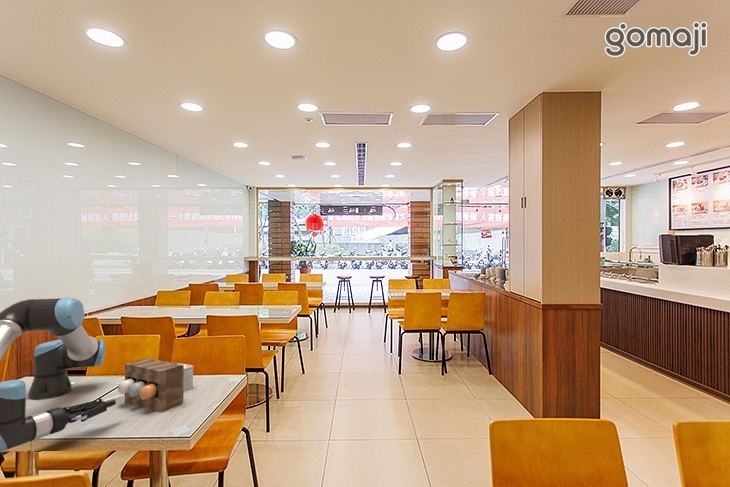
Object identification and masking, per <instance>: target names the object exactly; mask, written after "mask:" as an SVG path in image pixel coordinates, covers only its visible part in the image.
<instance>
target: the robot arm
mask: <svg viewBox="0 0 730 487" xmlns="http://www.w3.org/2000/svg"><path fill="white" fill-rule="evenodd" d="M84 319H85V309H84V305H83V303H82V301H81V300H79V299H78V298H76V297H75V298H74V297H62V298H61V297H60V298H36V299H33V298H32V299H31V298H30V299H25V300H24V299H23V300H21V301H18V302H16V303H13V304H12V305H11V304H10V306H8V307H6V308H4V309H2V311H0V362H2V360H3V358H4V356H5V355H6V353H7V351H8V350H9V349H10V347H11V345H12V344H13V341H14V340H17V339H18V338H19V337H20V336H21V335H22V333H25V332H30V331H31V332H32V331H33V332H34V331H46V332H47V333H48V334H49V335H52V336H54V337H57V338H58V339H56V340H51V341H47V342H43V343H40V344H38V345H36V347H35V348H34V355H33V358H34V359H33V380H32V382H31V385H30V388H29V390H28V394H27V388H26V387H27V385H26V381H24V380H22V379H11V380H10V379H9V380H5V381H4V380H3V381H0V453H2V452H5V451H8V450H10V449H13V448H16V447H19V446H21V445H24V444H27V443H31V442H33V441H35V442H36V441H38V440H39V439H41V438H44V437H47V436H48V435H53V434H56V433H58V432H59V433H60V432H61V431H63V430H64V429H65V428H66V426H67V424H72V423H76V422H77V421H78V420H80V422H81V423H84V422H86V421H87V420H88V419H91V418H93V417H95V416H98V415H100V414H103V413H105V412H107V410H108V408H111V407H114V406H116V405H117V406H118V405H120V404H123V403H124V394H118V395H115V396H112V397H110V398H106V399H104V400H102V398H99V399H98V400H93V401H91V400H90V401H87V402H83V403H80V404H76V405H72V406H71V405H70V406H64V407H60V406H59V407H53V408H51V409H48V410H46V411H40V412H38V413H34V414H31V415H27V416H26V412H27V411H26V409H27V408H26V406H27V398H28V399H30V400H46V399H52V398H56V397H60V396H63V395H66V394H68V393H71V391H72V386H73V385H72V383H71V380H70V378H69V376H68V369H80V368H90V367H91V368H92V367H99V366H101V365H102V364H103V363H104V360H105V354H106V347H107V346H106V345H107V344H106V341H105V340H101V339H99V340H98V339H96V337H93V336H91V335H89V334H88V332H87V331H86V330H85V328H84V326H83V325H82V324H83V322H84ZM27 395H28V396H27Z"/></svg>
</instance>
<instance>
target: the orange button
mask: <svg viewBox="0 0 730 487" xmlns="http://www.w3.org/2000/svg"><path fill="white" fill-rule="evenodd" d="M157 392H158V385H157V386H155V385H154V384H150V385H146V386H143V387H141V388H140V390H139V395H140V398H141V399H142V400H145V399H148V398H151V397H154V396H155V395H156V393H157Z"/></svg>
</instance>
